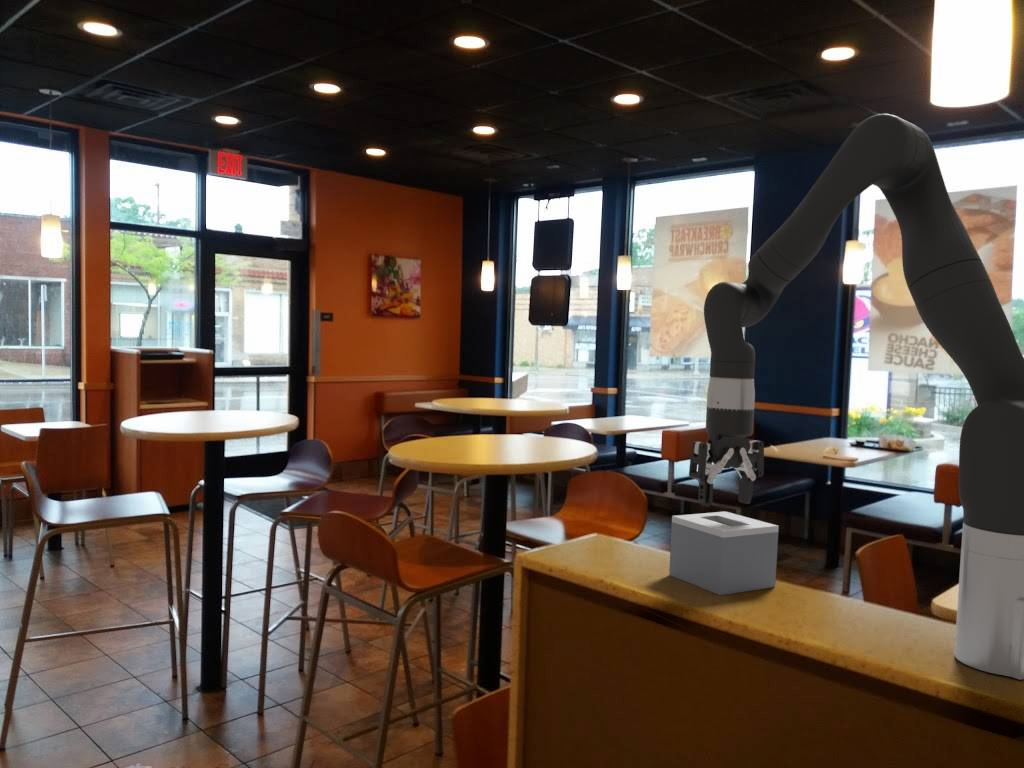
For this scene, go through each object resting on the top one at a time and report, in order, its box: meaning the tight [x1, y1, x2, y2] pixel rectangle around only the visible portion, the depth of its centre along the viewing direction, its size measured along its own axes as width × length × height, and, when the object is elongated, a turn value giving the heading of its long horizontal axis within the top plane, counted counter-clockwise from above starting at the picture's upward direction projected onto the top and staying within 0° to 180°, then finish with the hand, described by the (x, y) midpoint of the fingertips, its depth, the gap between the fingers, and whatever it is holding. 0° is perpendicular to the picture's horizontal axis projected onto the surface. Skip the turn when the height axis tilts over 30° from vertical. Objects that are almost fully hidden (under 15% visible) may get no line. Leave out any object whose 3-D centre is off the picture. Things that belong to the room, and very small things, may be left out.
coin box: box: [668, 511, 780, 596], centre depth 135 cm, size 12×12×10 cm
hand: (725, 504), depth 134 cm, fingers open, 8 cm apart
